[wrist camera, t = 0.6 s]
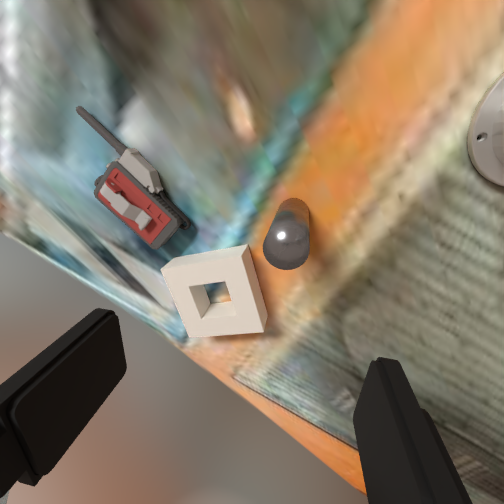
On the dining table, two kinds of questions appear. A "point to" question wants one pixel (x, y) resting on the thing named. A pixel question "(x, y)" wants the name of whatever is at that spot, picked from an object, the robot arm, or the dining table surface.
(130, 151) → the walkie-talkie
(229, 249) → the socket block
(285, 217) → the peg
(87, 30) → the dining table surface
